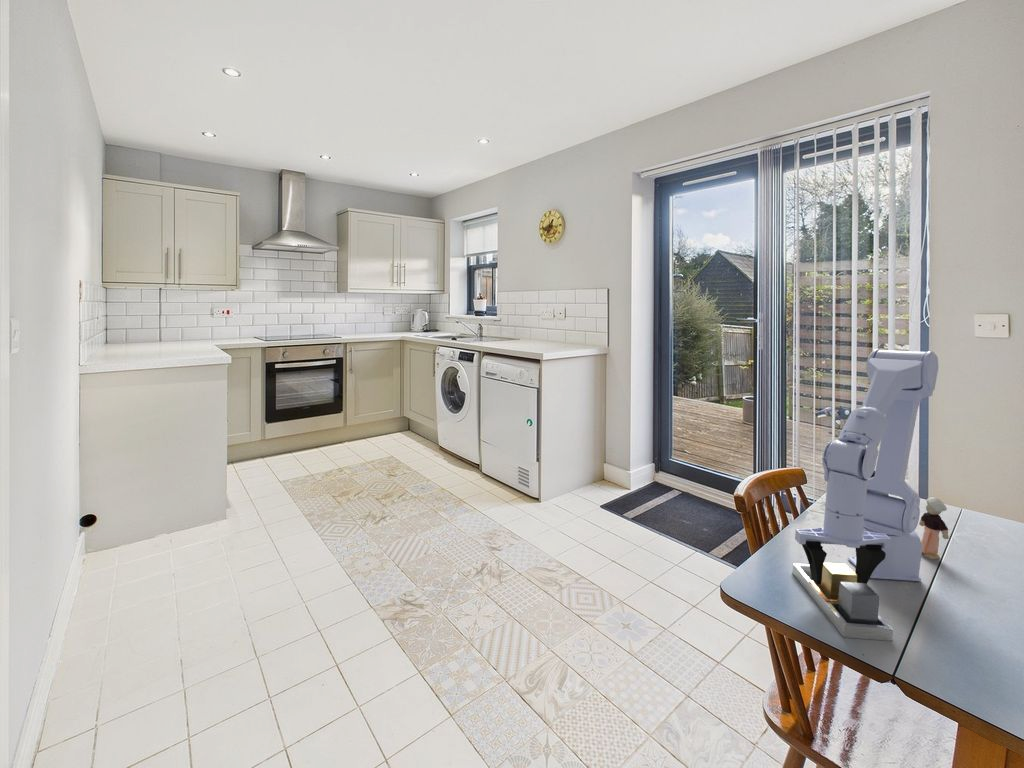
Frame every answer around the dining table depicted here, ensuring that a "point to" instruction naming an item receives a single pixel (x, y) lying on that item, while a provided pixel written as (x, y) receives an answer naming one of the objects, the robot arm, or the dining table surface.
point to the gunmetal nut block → (858, 603)
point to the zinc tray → (830, 609)
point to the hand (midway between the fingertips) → (838, 583)
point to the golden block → (835, 578)
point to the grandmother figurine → (933, 528)
